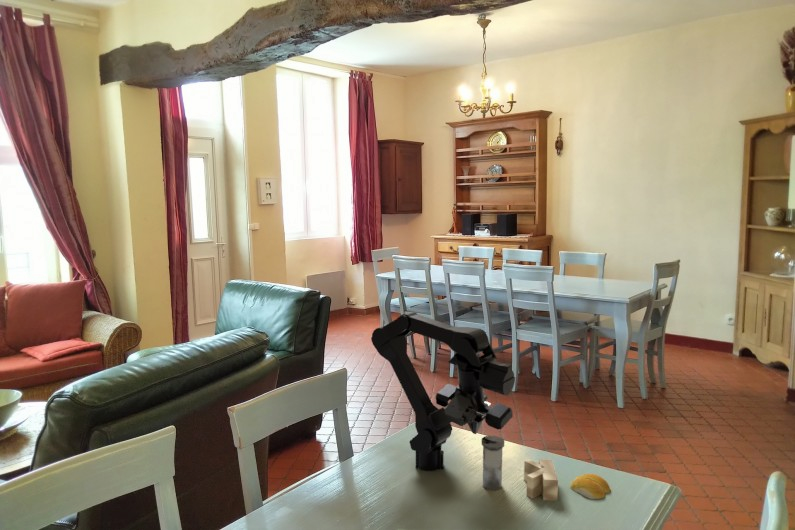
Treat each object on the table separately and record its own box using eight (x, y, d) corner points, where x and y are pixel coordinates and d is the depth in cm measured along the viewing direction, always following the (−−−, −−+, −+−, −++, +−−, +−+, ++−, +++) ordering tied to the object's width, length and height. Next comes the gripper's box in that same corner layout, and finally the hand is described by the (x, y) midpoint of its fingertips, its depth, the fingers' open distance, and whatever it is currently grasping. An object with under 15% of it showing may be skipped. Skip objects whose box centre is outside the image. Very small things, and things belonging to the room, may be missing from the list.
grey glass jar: (480, 490, 131) (481, 444, 129) (480, 479, 136) (481, 435, 134) (503, 491, 130) (504, 445, 129) (502, 480, 135) (503, 436, 134)
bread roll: (614, 492, 133) (615, 475, 132) (598, 507, 126) (598, 490, 126) (581, 480, 138) (581, 464, 138) (563, 493, 132) (564, 477, 131)
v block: (527, 499, 127) (527, 478, 126) (523, 477, 137) (523, 458, 136) (557, 501, 126) (557, 480, 125) (551, 479, 136) (551, 459, 135)
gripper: (418, 386, 134) (425, 438, 141) (485, 413, 123) (490, 468, 129) (446, 362, 142) (451, 412, 148) (512, 386, 130) (515, 439, 136)
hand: (475, 432), depth 140 cm, fingers closed
